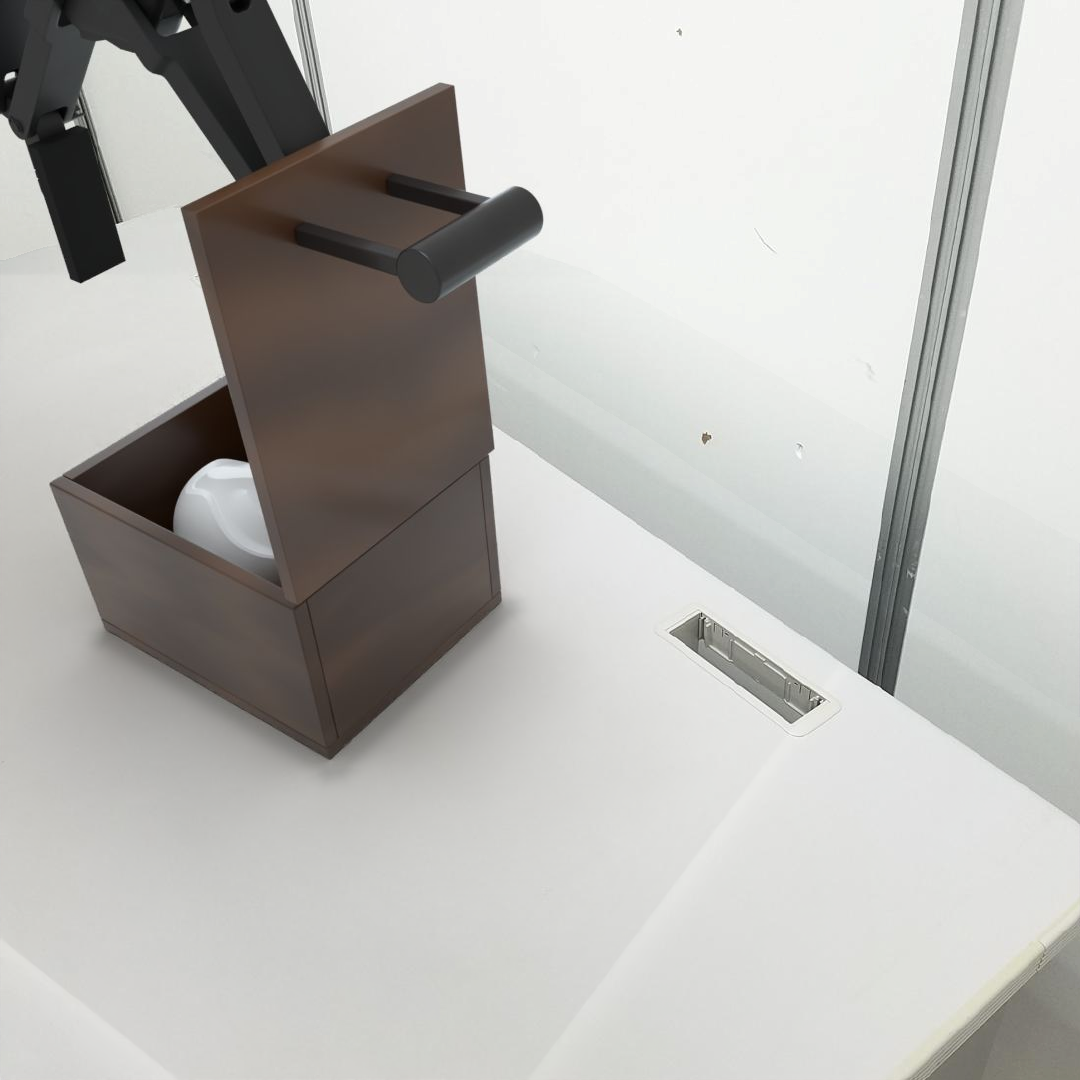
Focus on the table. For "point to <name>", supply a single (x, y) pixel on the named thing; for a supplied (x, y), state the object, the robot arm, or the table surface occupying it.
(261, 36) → the robot arm
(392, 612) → the compartment
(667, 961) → the table surface
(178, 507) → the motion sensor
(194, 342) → the table surface
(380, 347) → the compartment door
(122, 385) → the table surface
